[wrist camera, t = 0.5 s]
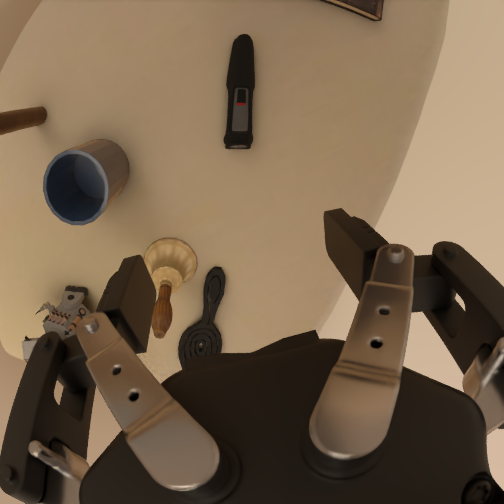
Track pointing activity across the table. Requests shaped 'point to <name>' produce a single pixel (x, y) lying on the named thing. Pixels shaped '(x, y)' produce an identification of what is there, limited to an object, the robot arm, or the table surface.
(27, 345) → the figurine
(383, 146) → the table surface
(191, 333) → the hairbrush
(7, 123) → the stick
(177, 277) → the hand bell
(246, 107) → the electric trimmer
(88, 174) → the cup
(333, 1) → the hardcover book
